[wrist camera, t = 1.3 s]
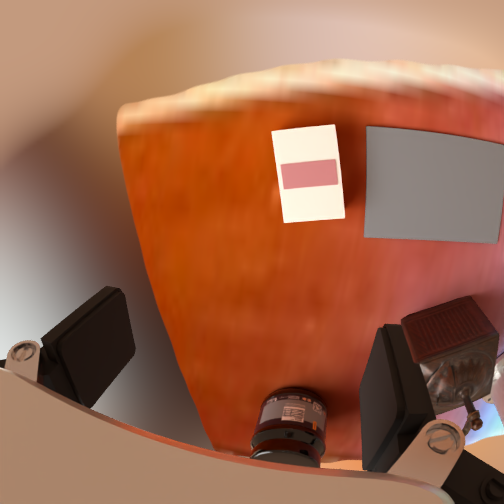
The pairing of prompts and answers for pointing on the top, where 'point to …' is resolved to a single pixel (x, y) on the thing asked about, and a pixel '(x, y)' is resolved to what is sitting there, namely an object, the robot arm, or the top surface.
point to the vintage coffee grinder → (454, 355)
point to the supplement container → (291, 429)
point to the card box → (309, 173)
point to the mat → (432, 186)
